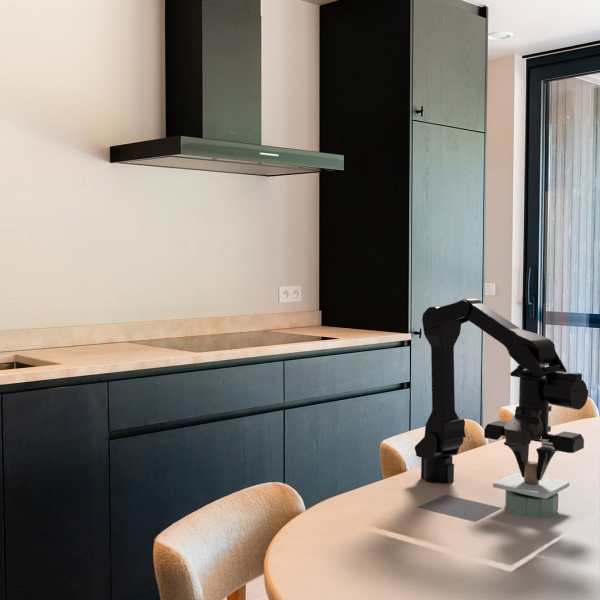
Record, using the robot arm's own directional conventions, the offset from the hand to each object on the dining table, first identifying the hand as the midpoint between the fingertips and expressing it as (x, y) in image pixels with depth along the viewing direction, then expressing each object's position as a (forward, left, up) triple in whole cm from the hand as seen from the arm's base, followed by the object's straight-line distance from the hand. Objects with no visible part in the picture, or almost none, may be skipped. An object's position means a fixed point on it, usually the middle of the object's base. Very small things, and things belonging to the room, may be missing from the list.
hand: (531, 478), depth 164 cm
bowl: (0, 0, -7) cm, 7 cm away
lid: (0, 0, -2) cm, 2 cm away
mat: (-11, -9, -7) cm, 16 cm away
